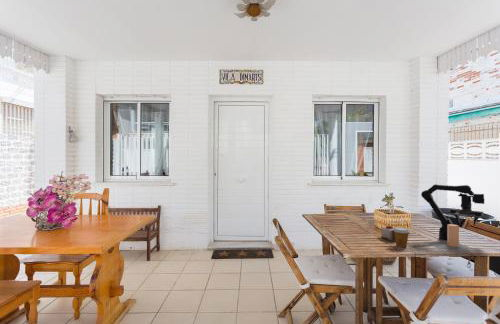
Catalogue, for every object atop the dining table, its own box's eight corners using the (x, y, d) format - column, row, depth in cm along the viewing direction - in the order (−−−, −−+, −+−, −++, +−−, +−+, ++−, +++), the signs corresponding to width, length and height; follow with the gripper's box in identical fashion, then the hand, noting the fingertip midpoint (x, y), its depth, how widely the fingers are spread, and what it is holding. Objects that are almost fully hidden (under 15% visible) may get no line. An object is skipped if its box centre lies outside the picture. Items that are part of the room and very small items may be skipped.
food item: (379, 237, 225) (379, 224, 225) (388, 236, 227) (388, 223, 226) (391, 241, 211) (391, 228, 211) (400, 241, 213) (401, 227, 213)
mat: (440, 249, 192) (440, 249, 192) (423, 242, 209) (423, 241, 209) (472, 249, 194) (472, 248, 194) (452, 242, 211) (452, 241, 211)
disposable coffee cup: (412, 247, 198) (412, 229, 198) (401, 248, 195) (401, 230, 195) (401, 243, 207) (401, 226, 207) (390, 244, 204) (390, 227, 204)
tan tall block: (447, 243, 204) (447, 224, 204) (456, 244, 202) (457, 224, 202) (448, 246, 199) (449, 225, 199) (458, 247, 197) (458, 226, 197)
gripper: (447, 202, 211) (447, 224, 211) (478, 205, 196) (479, 228, 196) (452, 201, 218) (452, 222, 218) (483, 203, 203) (484, 226, 203)
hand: (466, 224), depth 209 cm, fingers open, 9 cm apart
